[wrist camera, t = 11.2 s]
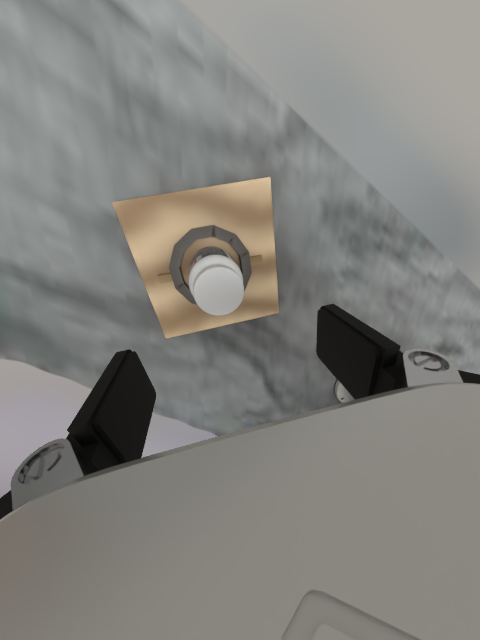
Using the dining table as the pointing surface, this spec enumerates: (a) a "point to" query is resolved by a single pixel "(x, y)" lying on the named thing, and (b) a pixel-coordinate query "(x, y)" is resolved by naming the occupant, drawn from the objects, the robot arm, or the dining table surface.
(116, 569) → the robot arm
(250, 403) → the dining table surface
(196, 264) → the pill bottle
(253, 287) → the socket board
